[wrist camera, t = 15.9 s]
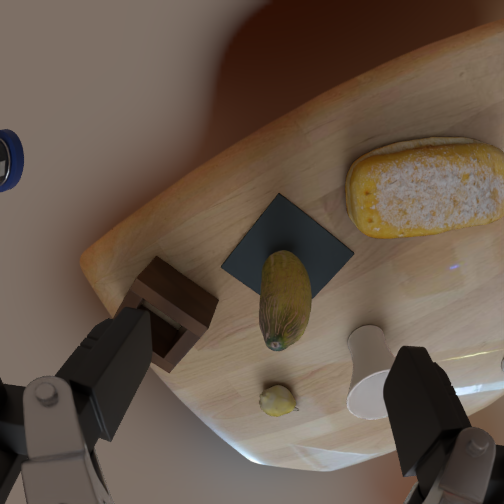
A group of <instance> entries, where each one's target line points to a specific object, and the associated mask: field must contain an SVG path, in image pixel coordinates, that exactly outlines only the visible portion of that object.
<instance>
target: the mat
mask: <svg viewBox="0 0 504 504" xmlns="http://www.w3.org/2000/svg"><path fill="white" fill-rule="evenodd" d="M282 250H285V251H289V252H291V253H293V254H294V255H295V256H297V257H298V258H299V260H300V261H301V262H302V264H303V265H304V267H305V269H306V271H307V273H308V276H309V280H310V286H311V294H312V299H313V298H314V297H315V296H316V295H317V294H318V293H319V291H320V290H321V289H322V288H323V287H324V286H325V285H326V284H327V283H328V282H329V281H330V280H331V279H332V278H333V277H334V276H335V275H336V273H337V272H338V271H339V270H340V269H341V268H342V267H343V266H344V265H345V264H346V263H347V262H348V260H349V259H350V258H351V257H352V256H353V255H354V252H352V251H351V250H350V249H349V248H348V247H346V246H345V245H344V244H343V243H341V242H340V241H339V240H338V239H337V238H335V237H334V236H333V235H332V234H330V233H329V232H328V231H327V230H325V229H324V228H323V227H322V226H320V225H319V224H318V223H317V222H315V221H314V220H313V219H312V218H310V217H309V216H308V215H307V214H305V213H304V212H303V211H302V210H300V209H299V208H298V207H296V206H295V205H294V204H293V203H291V202H290V201H289V200H287V199H286V198H285V197H283V196H282V195H281V194H280V193H279V194H278V195H277V196H276V198H275V199H274V200H273V201H272V203H271V204H270V205H269V206H268V208H267V209H266V210H265V211H264V213H263V214H262V215H261V216H260V218H259V219H258V220H257V221H256V223H255V224H254V225H253V227H252V228H251V229H250V230H249V232H248V233H247V234H246V235H245V237H244V238H243V239H242V240H241V242H240V243H239V244H238V246H237V247H236V248H235V249H234V251H233V252H232V253H231V254H230V256H229V257H228V258H227V260H226V261H225V262H224V263H223V265H222V266H221V268H222V269H224V270H225V271H226V272H228V273H229V274H231V275H232V276H234V277H235V278H236V279H238V280H239V281H241V282H242V283H243V284H245V285H246V286H248V287H249V288H251V289H252V290H253V291H255V292H256V293H258V294H259V295H260V294H261V282H262V268H263V265H264V263H265V261H266V260H267V258H268V257H269V256H270V255H272V254H273V253H275V252H278V251H282Z"/></svg>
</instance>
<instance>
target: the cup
mask: <svg viewBox="0 0 504 504" xmlns="http://www.w3.org/2000/svg"><path fill="white" fill-rule="evenodd" d="M348 347H349V350H350V352H351V355H352V361H353V374H352V379H351V384H350V388H349V392H348V396H347V403H346V404H347V407H348V410H349V411H350V412H351V413H352V414H353V415H355V416H357V417H359V418H363V419H380V418H385V417H388V413H387V410H386V406H385V402H384V399H383V387H384V383H385V380H386V378H387V376H388V373H389V371H390V369H391V367H392V365H393V363H394V360H395V357H394V355H393V354H392V353H391V351H390V350H389V348H388V346H387V344H386V341H385V336H384V333H383V331H382V330H381V329H380V328H379V327H377V326H374V325H366V326H362V327H360V328H358V329H356V330H355V331H354V332H353V333H352V334H351V335H350V337H349V339H348Z"/></svg>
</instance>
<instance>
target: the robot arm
mask: <svg viewBox="0 0 504 504" xmlns="http://www.w3.org/2000/svg"><path fill="white" fill-rule="evenodd" d="M11 168H12V156H11V151H10V148H9V145H8V144H7V142H6V141H5V140H4V139H3V138H1V137H0V186H1V185H3V184H5V183H6V181H7V180H8V178H9V176H10V173H11ZM151 359H152V338H151V323H150V314H149V312H148V311H145V310H140V309H136V308H131V307H124V308H123V309H122V310H121V312H120V313H119V314H118V315H117V317H116V318H115V319H114V320H113V319H109V318H108V319H106V320H104V321H103V322H101V323H99V324H98V325H96V326H95V327H94V328H93V329H92V330H91V332H90V333H89V334H88V335H87V338H85V339H84V340H83V341H82V342H81V344H80V346H78V347H77V349H76V350H75V351H74V352H73V353H72V355H71V356H70V357H69V358H68V360H67V361H66V362H65V363H64V365H63V366H62V367H61V368H60V370H59V371H58V372H57V374H56V375H55V376H43V377H40V378H37V379H35V380H33V381H32V382H30V383H29V384H28V385H27V387H23V386H16V385H8V384H3V383H2V380H1V378H0V504H5V502H6V500H7V497H8V495H9V493H10V491H11V489H12V487H13V485H14V483H15V481H16V479H17V477H18V475H19V473H20V471H21V474H22V480H23V486H24V492H25V497H26V502H27V504H114V501H113V499H112V497H111V494H110V492H109V489H108V486H107V484H106V481H105V478H104V475H103V472H102V469H101V466H100V463H99V460H98V457H97V454H96V450H95V448H94V446H95V444H96V442H97V440H98V438H101V439H104V440H107V441H110V442H111V441H112V439H113V437H114V435H115V433H116V431H117V429H118V427H119V425H120V423H121V421H122V419H123V417H124V415H125V413H126V411H127V409H128V407H129V405H130V403H131V401H132V399H133V397H134V395H135V393H136V391H137V389H138V387H139V385H140V384H141V382H142V380H143V378H144V376H145V374H146V372H147V370H148V368H149V366H150V363H151ZM383 399H384V402H385V406H386V410H387V413H388V417H389V421H390V425H391V429H392V433H393V436H394V440H395V444H396V449H397V452H398V457H399V461H400V466H401V470H402V474H403V477H408V476H416V475H417V479H418V481H417V482H416V483H415V485H414V486H413V488H412V489H411V491H410V493H409V495H408V497H407V498H406V500H405V502H404V504H504V446H502V445H496V444H495V442H494V440H493V438H492V437H491V436H490V435H489V434H488V433H487V432H486V431H484V430H482V429H480V428H476V427H472V426H471V424H470V421H469V419H468V417H467V415H466V413H465V411H464V408H463V406H462V404H461V402H460V400H459V398H458V396H457V395H456V392H455V390H454V388H453V386H451V382H450V380H449V378H448V376H447V374H446V372H445V371H444V370H443V369H442V368H441V367H440V366H439V365H438V364H437V363H436V362H433V361H432V360H431V358H430V356H429V354H428V352H427V350H426V348H424V347H415V346H402V347H401V348H400V350H399V352H398V354H397V356H396V358H395V360H394V363H393V365H392V367H391V369H390V371H389V373H388V376H387V378H386V380H385V383H384V387H383ZM27 458H28V459H27Z"/></svg>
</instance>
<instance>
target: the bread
mask: <svg viewBox="0 0 504 504" xmlns="http://www.w3.org/2000/svg"><path fill="white" fill-rule="evenodd" d="M345 193H346V206H347V208H346V209H347V213H348V216H349V218H350V219H351V221H352V222H353V223H354V224H355V226H356V227H357V228H358V229H359V230H360V231H361V232H362V233H364V234H365V235H367V236H369V237H373V238H379V239H390V238H401V237H414V236H426V235H435V234H439V233H442V232H446V231H450V230H455V229H460V228H465V227H471V226H477V225H484V224H489V223H492V222H494V221H496V220H498V219H500V218H501V217H503V216H504V153H503V151H502V150H500V149H499V148H497V147H495V146H493V145H489V144H487V143H483V142H481V141H478V140H475V139H470V138H466V137H430V138H422V139H415V140H411V141H403V142H396V143H393V144H390V145H387V146H384V147H381V148H377V149H375V150H373V151H371V152H368V153H366V154H364V155H362V156H361V157H359V158H358V159H357V160H356V161H355V162H354V163H353V164H352V165H351V167H350V169H349V171H348V173H347V176H346V185H345Z"/></svg>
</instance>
